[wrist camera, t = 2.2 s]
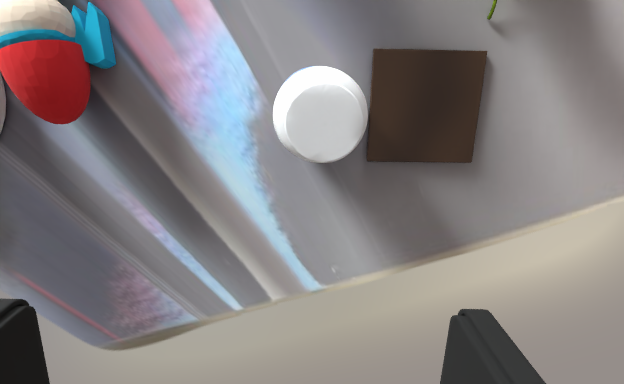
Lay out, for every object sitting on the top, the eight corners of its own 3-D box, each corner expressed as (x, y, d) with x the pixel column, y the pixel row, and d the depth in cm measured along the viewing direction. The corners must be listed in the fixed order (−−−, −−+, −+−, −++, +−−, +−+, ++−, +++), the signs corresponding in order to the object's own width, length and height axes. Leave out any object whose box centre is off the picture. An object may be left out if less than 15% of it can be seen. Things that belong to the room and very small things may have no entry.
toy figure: (-42, -85, 26) (34, 138, 27) (-119, -140, 21) (-20, 136, 23) (72, -111, 26) (140, 111, 28) (22, -171, 21) (109, 103, 23)
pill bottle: (262, 103, 28) (244, 119, 19) (316, 49, 27) (325, 38, 18) (313, 157, 30) (320, 196, 20) (367, 107, 29) (400, 124, 19)
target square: (366, 160, 30) (367, 161, 29) (373, 48, 27) (374, 48, 27) (469, 161, 30) (471, 162, 30) (485, 51, 28) (487, 51, 27)
